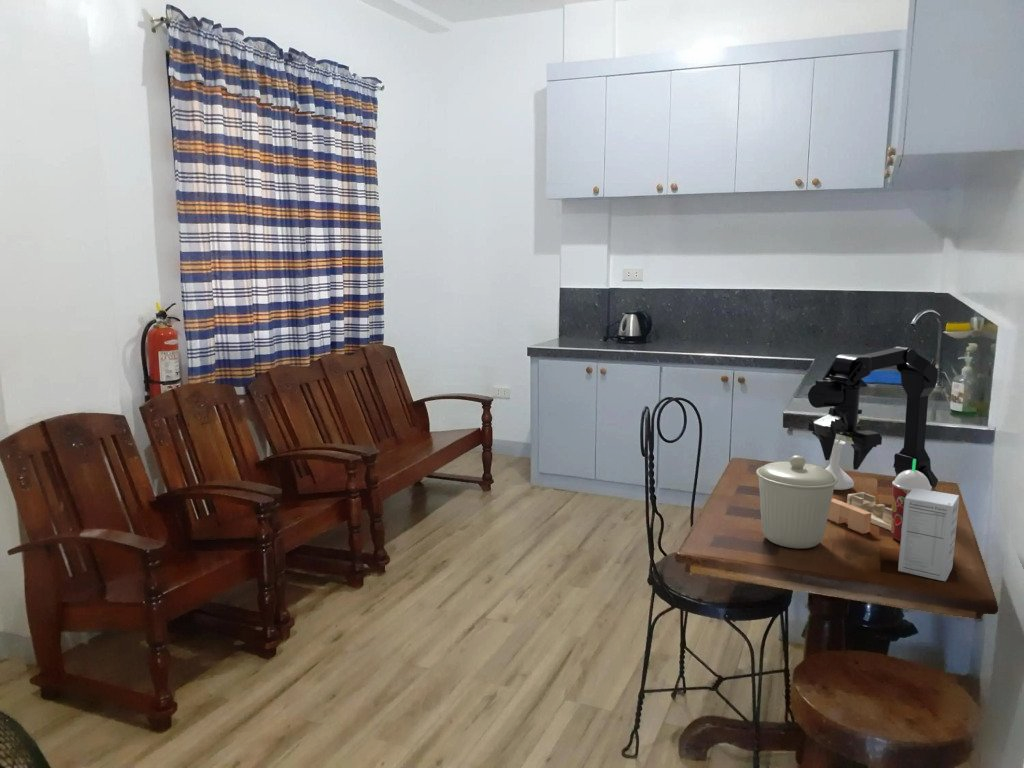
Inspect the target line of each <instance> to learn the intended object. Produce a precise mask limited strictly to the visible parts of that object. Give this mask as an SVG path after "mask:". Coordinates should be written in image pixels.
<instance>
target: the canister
mask: <svg viewBox="0 0 1024 768" xmlns="http://www.w3.org/2000/svg"><path fill="white" fill-rule="evenodd" d="M806 462H807V461H806V458H805V457H803V455H799V454H795V455H792V456H791V457H789V461H775V462H769V463H766V464H765V465H762V466H760V467H758V468H757V469H756V472H755V473H756V475H757V477H758V486H759V488H758V490H759V491H758V492H759V505H760V506H759V507H760V511H759V512H760V521H761V530H762V532H763V535H764V537H765V538H766V539H767V540H768V541H769V542H771V543H773V544H774V545H777V546H781V547H785V548H788V549H810V548H813V547H816V546H817V545H819V544H820V543H821V541H822V540H823V538H824V535H825V530H826V527H827V522H828V520H829V519H828V514H829V510H830V505H831V500H832V498H833V495H834V485H836V484H837V483H838V478H837V477H836V476H835V475H834V474H832V473H831V472H830V471H828V470H826V468H824V467H821V466H818V465H815V464H811V463H806Z"/></svg>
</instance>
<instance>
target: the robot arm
mask: <svg viewBox="0 0 1024 768" xmlns="http://www.w3.org/2000/svg"><path fill="white" fill-rule="evenodd" d="M890 367H894V369H896V371H897V372H898V373H899V375H900V383H901V386H902V389H903V390H904V392H905V394H906V407H905V420H904V421H905V422H904V433H903V434H904V437H903V447H902V448H901V450H900V451H899V452H896V453H895V454H894V456H893V459H894V461H893V466H892V468H894V473H895V478H896V477H897V476H898V475H899V474H900V473H901V472H903V471H906V470H912V465H913V459H916V466H915V470H917V471H919V472H921V473H923V474H924V475H925V476H926V477H927V479H928V480H929V483H930V485H931V486H932V489H931V490H933V489H934V488H936V487H937V484H938V482H939V479H938V478H937V475H935V474H934V472H933V471H932V466H931V458H930V456H929V454H928V452H927V451H926V434H927V433H926V432H927V430H926V429H927V420H928V419H927V418H928V405H929V404H928V403H929V396H930V394H932V392H933V391H934V390H935V389H936V386H937V383H938V382H937V381H938V377H939V370H938V368H937V367H936V366H935V364H933V363H932V362H931V361H930V360H928V359H926V358H925V357H923V356H921V355H920V354H919V353H918V352H917V351H916V350H915V349H913V348H912V347H906V346H894V347H892V348H888V349H883V350H879V351H875V352H870V353H865V354H853V353H852V354H851V353H850V354H849V353H845V354H843V353H842V354H838V355H837V356H835V359H834V360H833V361H832V364H831V365H830V367H829V368H828V370H827V372H826V373H825V375H824V376H823V378H822V379H816V380H815V383H814V384H815V385H812V386H811V387H810V389H809V390H808V393H807V398H808V402H809V403H810V405H811V406H812V407H813V408H816V409H822V408H829V409H828V414H827V415H824V416H822V417H820V418H815V419H811V420H810V421H809V423H808V431H810V432H811V434H812V435H814V436H815V437H816V439H818V440H819V445H820V446H821V449H822V454H823V457H824V460H825V461H830V460H831V453H832V449H833V445H834V441H835V440H836V437H837V436H836V434H837V435H840V436H844V437H845V436H847V437H850V438H852V441H851V442H852V443H851V444H850V445H851V448H852V449H853V461H852V463H853V464H852V468H853V470H854V471H856V470H857V471H858V469H860V467H861V465H862V463H863V462H864V460H865V458H866V457H867V455H868V454H869V453H870V452H871V451H872V450H873V448H877V446H879V445H880V446H881V445H882V442H883V436H882V435H881V433H879V432H877V431H874V430H873V431H872V430H868V429H867V430H861V427H862V426H861V425H860V424H858V423H857V419H859V418H858V415H862V414H863V413H862V412H863V409H860V407H859V406H860V395H861V394H860V393H861V388H867V386H868V384H867V383H866V382H865V381H864V380H863V379H864V378H866V377H869V376H870V375H871V373H872V372H873V371H874V372H875V371H877V370H881V369H886V368H890Z"/></svg>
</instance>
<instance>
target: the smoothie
mask: <svg viewBox="0 0 1024 768" xmlns="http://www.w3.org/2000/svg"><path fill="white" fill-rule="evenodd" d="M915 466H916V459H913V465H912V470H906V471H903V472H901V473H900V474H899V475H898V476H897V477H896V476H895V479H894V480H893V481H892V483H891V485H892V494H891V495H892V496H891V498H892V499H891V509H892V521H891V531H890V533H891V534H892V537H893V539H894V540H896V541H898V542H900V543H901V530H902V522H903V511H904V501H905V497H906V496H907V495H908V494H909V493H910V491H911V490H912V489H913V488H918V489H924V490H930V491H932V490H933V489H932V486H931V485H930V483H929V480H928V479H927V477H926V476H925V475H924V474H923V473H921V472H919V471H917V470H915Z"/></svg>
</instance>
